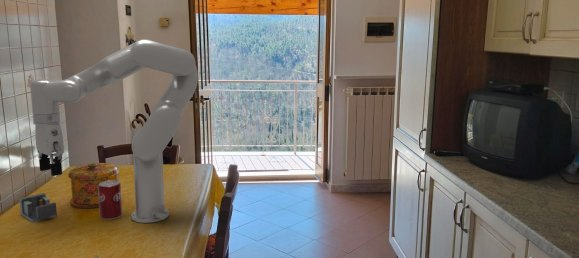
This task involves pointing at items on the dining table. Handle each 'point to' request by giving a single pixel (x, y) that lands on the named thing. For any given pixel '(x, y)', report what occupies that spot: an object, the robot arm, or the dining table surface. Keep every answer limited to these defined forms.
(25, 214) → the grey desk caddy
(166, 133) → the robot arm
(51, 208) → the blue-grey small box
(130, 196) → the dining table surface
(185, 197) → the dining table surface
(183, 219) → the dining table surface
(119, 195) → the soda can
